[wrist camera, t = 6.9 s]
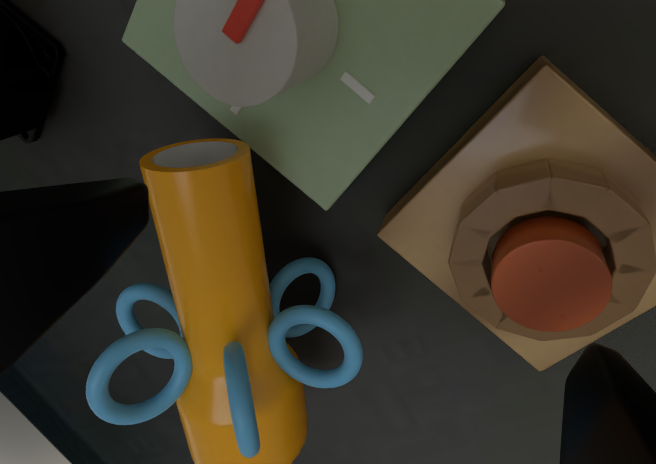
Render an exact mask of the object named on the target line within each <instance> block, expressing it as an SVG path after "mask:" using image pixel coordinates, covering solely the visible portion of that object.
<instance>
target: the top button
mask: <svg viewBox="0 0 656 464" xmlns="http://www.w3.org/2000/svg"><path fill="white" fill-rule="evenodd" d="M491 291H492V295H493V298H494V300H495V302H496V304H497V306H498V307H499V308H500V310H501V311H502V312H503V313H504V314H505V315H506V316H507V317H508V318H510V319H511V320H512V321H514V322H516V323H518V324H520V325H522V326H524V327H527V328H530V329H533V330H538V331H545V332H560V331H567V330H571V329H575V328H578V327H580V326H583V325H585V324H587V323H589V322H590V321H592V320H593V319H595V318H596V317H597V316H598V315H599V314H600V313H601V312H602V311H603V310H604V308H605V307H606V305H607V303H608V302H609V299H610V297H611V293H612V278H611V274H610V271H609V268H608V266H607V263H606V260H605V257H604V254H603V251H602V248H601V246H600V244H599V242H598V240H597V239H596V237H595V236H594V235H593V234H592V233H591V232H590V231H589V230H588V229H586V228H585V227H584V226H582V225H580V224H578V223H576V222H574V221H572V220H569V219H565V218H560V217H552V216H545V217H536V218H531V219H528V220H525V221H522V222H520V223H518V224H516V225H514V226H513V227H511V228H510V229H508V230H507V231H506V232H505V233H504V234H503V235H502V236H501V237H500V239H499V240H498V242H497V243H496V245H495V248H494V251H493V255H492V270H491Z"/></svg>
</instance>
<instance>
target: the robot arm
mask: <svg viewBox="0 0 656 464" xmlns="http://www.w3.org/2000/svg"><path fill="white" fill-rule="evenodd" d="M51 49H52V50H53V53H52V50H51ZM63 58H64V51H63V48H62V46H61V45H60V44H59V43H58V42H57V41H56V40H55V39H54V38H52V37H51V36H50V35H49V34H48V33H46V32H45V31H44V30H43V29H42V28H40V27H39V26H38V25H37V24H36V23H34V22H33V21H32V20H31V19H29V18H28V17H27V16H26V15H25V14H23V13H22V12H21V11H20V10H19V9H17V8H16V7H15V6H14V5H12V4H11V3H10V2H9V1H8V0H0V140H3V139H6V138H9V137H12V136H15V135H16V136H17V137H19V138H20V139H21V140H22V141H24V142H25V143H32V142H34V141H37V140H38V138H39V135H40V132H41V128H42V126H43V124H44V121H45V118H46V115H47V112H48V108H49V105H50V102H51V99H52V96H53V93H54V87H55V84H56V80H57V77H58V74H59V71H60V68H61V64H62V61H63ZM148 220H149V191H148V187H147V185H146V184H145V183H142V182H140V181H137V180H134V179H131V178H120V179H111V180H102V181H93V182H84V183H75V184H66V185H57V186H48V187H39V188H30V189H21V190H12V191H3V192H0V376H1V375H2V374H3V373H4V372H5V371H6V370H7V369H8V368H9V367H10V366H11V365H12V364H13V363H15V362H16V361H17V360H18V359H19V358H20V357H21V356H22V355H23V354H24V353H25V352H26V351H27V350H28V349H29V348H30V347H31V346H32V345H33V344H34V343H36V342H37V341H38V340H39V339H40V338H41V337H42V336H43V335H44V334H45V333H46V332H47V331H48V330H49V329H50V328H51V327H52V326H53V325H54V324H55V323H57V322H58V321H59V320H60V319H61V318H62V317H63V316H64V315H65V314H66V313H67V312H68V311H69V310H70V309H71V308H72V307H73V306H74V305H75V304H76V303H77V302H79V301H80V300H81V299H82V298H83V297H84V296H85V295H86V294H87V293H88V292H89V291H90V290H91V289H92V288H93V287H94V286H95V285H96V284H97V283H98V282H99V281H100V280H101V279H102V278H103V277H104V276H105V275H106V274H107V273H108V272H109V270H110V269H111V268H112V267H113V266H114V265H115V263H116V262H117V261H118V260H119V259H120V257H121V256H122V255H123V254H124V253H125V252H126V250H127V249H128V248H129V247H130V246H131V244H132V243H133V242H134V241H135V240H136V239H137V237H138V236H139V235H140V234H141V233H142V232H143V230H144V229H145V228H146V226H147V223H148ZM560 464H656V393H655V391H654V390H653V389H652V388H651V387H650V386H649V385H648V384H647V383H646V382H645V381H644V379H643V378H642V377H641V376H640V375H639V374H638V373H637V372H636V371H635V370H634V369H633V367H632V366H631V365H630V364H629V363H628V362H627V361H626V360H625V359H624V358H623V357H622V355H621V354H620V353H619V352H618V351H616V350H614V349H611V348H608V347H605V346H603V345H600V344H597V343H592V344H590V345H589V346H587V348H586V349H585V350H584V352H583V353H582V355H581V356H580V358H579V359H578V361H577V362H576V364H575V365H574V367H573V368H572V370H571V371H570V373H569V375H568V377H567V380H566V384H565V393H564V407H563V421H562V435H561V449H560Z"/></svg>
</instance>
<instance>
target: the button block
mask: <svg viewBox="0 0 656 464" xmlns="http://www.w3.org/2000/svg"><path fill="white" fill-rule="evenodd" d="M545 216H552V217H560V218H565V219H569V220H572V221H574V222H576V223H578V224H580V225H582V226H584V227H585V228H586V229H588V230H589V231H590V232H591V233H592V234H593V235H594V236H595V237H596V239H597V240H598V242H599V244H600V246H601V248H602V251H603V254H604V257H605V260H606V263H607V266H608V268H609V271H610V274H611V278H612V293H611V297H610V299H609V302H608V303H607V305H606V307H605V308H604V310H603V311H602V312H601V313H600V314H599V315H598V316H597V317H596V318H595V319H593V320H592V321H590V322H589V323H587V324H585V325H583V326H580V327H578V328H575V329H571V330H567V331H560V332H545V331H538V330H533V329H530V328H527V327H524V326H522V325H520V324H518V323H516V322H514V321H512V320H511V319H510V318H508V317H507V316H506V315H505V314H504V313H503V312H502V311H501V310H500V308H499V307H498V306H497V304H496V302H495V300H494V298H493V295H492V291H491V270H492V255H493V251H494V248H495V245H496V243H497V242H498V240H499V239H500V237H501V236H502V235H503V234H504V233H505V232H506V231H507V230H508V229H510V228H511V227H513V226H514V225H516V224H518V223H520V222H522V221H525V220H528V219H531V218H536V217H545ZM377 236H378V237H379V238H380V239H382V240H383V241H384V242H385V243H386V244H388V245H389V246H390V247H391V248H392V249H394V250H395V251H396V252H397V253H398V254H400V255H401V256H402V257H403V258H404V259H406V260H407V261H408V262H409V263H410V264H411V265H413V266H414V267H415V268H416V269H417V270H419V271H420V272H421V273H422V274H423V275H425V276H426V277H427V278H428V279H429V280H431V281H432V282H433V283H434V284H435V285H437V286H438V287H439V288H440V289H441V290H443V291H444V292H445V293H446V294H447V295H449V296H450V297H451V298H452V299H453V300H455V301H456V302H457V303H458V304H459V305H461V306H462V307H463V308H464V309H465V310H467V311H468V312H469V313H470V314H471V315H472V316H474V317H475V318H476V319H477V320H478V321H480V322H481V323H482V324H483V325H484V326H486V327H487V328H488V329H489V330H490V331H492V332H493V333H494V334H495V335H496V336H498V337H499V338H500V339H501V340H502V341H504V342H505V343H506V344H507V345H508V346H510V347H511V348H512V349H513V350H514V351H516V352H517V353H518V354H519V355H520V356H522V357H523V358H524V359H525V360H526V361H528V362H529V363H530V364H531V365H532V366H533V367H535V368H536V369H537V370H538V371H543V370H545V369H546V368H548V367H550V366H551V365H553V364H555V363H557V362H558V361H560V360H562V359H564V358H565V357H567V356H569V355H571V354H572V353H574V352H576V351H578V350H579V349H581V348H583V347H585V346H586V345H588V344H590V343H592V342H593V341H595V340H597V339H599V338H600V337H602V336H604V335H606V334H607V333H609V332H611V331H612V330H614V329H616V328H618V327H619V326H621V325H623V324H625V323H626V322H628V321H630V320H632V319H633V318H635V317H637V316H639V315H640V314H642V313H644V312H646V311H647V310H649V309H651V308H653V307H654V306H656V156H655V155H654V154H653V153H652V152H651V151H650V150H649V149H648V148H646V147H645V146H644V145H643V144H642V143H641V142H640V141H639V140H637V139H636V138H635V137H634V136H633V135H632V134H631V133H630V132H628V131H627V130H626V129H625V128H624V127H623V126H622V125H621V124H620V123H618V122H617V121H616V120H615V119H614V118H613V117H612V116H611V115H609V114H608V113H607V112H606V111H605V110H604V109H603V108H602V107H600V106H599V105H598V104H597V103H596V102H595V101H594V100H593V99H591V98H590V97H589V96H588V95H587V94H586V93H585V92H584V91H583V90H581V89H580V88H579V87H578V86H577V85H576V84H575V83H574V82H572V81H571V80H570V79H569V78H568V77H567V76H566V75H565V74H563V73H562V72H561V71H560V70H559V69H558V68H557V67H556V66H554V65H553V64H552V63H551V62H550V61H549V60H548V59H547V58H546V57H544V56H540V57H539V58H538V59H537V60H536V61H535V62H534V63H533V64H532V65H531V66H530V67H529V68H528V69H527V70H526V71H525V72H524V73H523V74H522V75H521V76H520V77H519V78H518V80H517V81H516V82H515V83H514V84H513V85H512V86H511V87H510V88H509V89H508V90H507V91H506V92H505V93H504V94H503V95H502V96H501V97H500V98H499V99H498V100H497V101H496V102H495V103H494V104H493V105H492V106H491V107H490V108H489V109H488V110H487V111H486V112H485V113H484V114H483V115H482V116H481V117H480V118H479V119H478V121H477V122H476V123H475V124H474V125H473V126H472V127H471V128H470V129H469V130H468V131H467V132H466V133H465V134H464V135H463V136H462V137H461V138H460V139H459V140H458V141H457V142H456V143H455V144H454V145H453V146H452V147H451V148H450V149H449V150H448V151H447V152H446V153H445V154H444V155H443V156H442V157H441V158H440V159H439V160H438V161H437V163H436V164H435V165H434V166H433V167H432V168H431V169H430V170H429V171H428V172H427V173H426V174H425V175H424V176H423V177H422V178H421V179H420V180H419V181H418V182H417V183H416V184H415V185H414V186H413V187H412V188H411V189H410V190H409V191H408V192H407V193H406V194H405V195H404V196H403V197H402V198H401V199H400V200H399V201H398V202H397V204H396V205H395V206H394V207H393V208H392V209H391V210H390V211H389V212H388V213H387V214H386V216H385V218H384V220H383V222H382V224H381V227H380V229H379V231H378V233H377Z"/></svg>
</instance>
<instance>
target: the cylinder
mask: <svg viewBox="0 0 656 464" xmlns="http://www.w3.org/2000/svg"><path fill="white" fill-rule="evenodd" d="M139 164H140V168H141V172H142V176H143V180H144V183H145V184H146V185H147V187H148V191H149V204H150V208H151V212H152V215H153V219H154V223H155V227H156V231H157V235H158V239H159V243H160V247H161V251H162V255H163V259H164V263H165V267H166V271H167V275H168V279H169V283H170V287H171V291H172V292H171V291H169V290H168V289H166V288H164V287H161V286H159V285H156V284H151V283H137V284H133V285H131V286H129V287H127V288H126V289H124V290H123V291H122V292H121V294H120V295H119V297H118V300H117V304H116V314H117V318H118V321H119V324H120V326H121V328H122V329H123V331H124V333H125V334H126V335H125V336H123V337H122V338H120V339H118V340H117V341H115V342H114V343H113V344H111V345H110V346H109V347H108V348H107V349H106V350H105V351H104V352H103V353H102V354H101V355H100V356H99V357H98V359H97V360H96V362H95V363H94V365H93V367H92V368H91V371H90V373H89V376H88V379H87V384H86V396H87V401H88V404H89V406H90V408H91V409H92V411H93V412H94V413H95V414H96V415H97V416H98V417H99V418H101V419H102V420H104V421H106V422H109V423H112V424H117V425H131V424H137V423H141V422H144V421H147V420H149V419H152V418H154V417H156V416H157V415H159V414H161V413H162V412H164V411H165V410H167V409H168V408H169V407H170V406H171V405H172V404H174V403H175V402H176V404H177V407H178V411H179V415H180V418H181V422H182V425H183V429H184V432H185V436H186V439H187V443H188V446H189V450H190V453H191V456H192V459H193V461H194V463H195V464H291V463H292V462H293V460H294V459H295V458H296V457H297V456H298V454H299V452H300V450H301V449H302V447H303V445H304V442H305V439H306V436H307V430H308V421H307V411H306V402H305V394H304V385H303V384H306V385H309V386H312V387H317V388H334V387H339V386H342V385H344V384H346V383H348V382H349V381H351V380H352V379H353V378H354V377H355V376H356V375H357V373H358V372H359V370H360V368H361V365H362V360H363V350H362V346H361V342H360V340H359V338H358V336H357V334H356V332H355V331H354V330H353V328H352V327H351V326H350V325H349V324H348V323H347V322H346V321H345V320H344V319H343V318H341V317H340V316H338V315H337V314H335V313H333V312H331V311H329V310H330V307H331V305H332V303H333V300H334V296H335V278H334V275H333V272H332V270H331V269H330V267H329V266H328V265H327V264H326V263H325V262H323V261H322V260H320V259H317V258H311V257H306V258H300V259H297V260H295V261H293V262H291V263H289V264H287V265H286V266H285V267H283V268H282V269H281V270H280V271H279V272H278V273H277V274H276V275H275V277H274V278H273V280H272V281H271V283H270V284H269V280H268V273H267V266H266V259H265V253H264V246H263V238H262V231H261V224H260V217H259V210H258V203H257V196H256V189H255V182H254V175H253V168H252V161H251V154H250V147H249V145H248V144H247V143H245V142H243V141H239V140H234V139H224V138H211V139H198V140H191V141H185V142H180V143H175V144H171V145H167V146H164V147H161V148H158V149H155V150H153V151H151V152H149V153H147V154H146V155H144V156H143V157H142V158H141V159H140V161H139ZM306 273H313V274H315V275H316V276H317V277H318V278H319V280H320V284H321V290H320V295H319V298H318V301H317V303H316V304H315V306H312V305H298V306H293V307H290V308H287V309H285V310H283V311H282V312H280V310H279V306H280V300H281V297H282V295H283V293H284V291H285V289H286V288H287V286H288V285H289V284H290V283H291V282H292V281H293V280H294V279H295V278H297V277H298V276H300V275H302V274H306ZM137 300H149V301H152V302H155V303H157V304H159V305H160V306H162V307H163V308H165V309H166V310H167V311H168V312H169V313H170V314H171V315H172V316H173V318H174V319H175V321H176V322H177V324H178V327H179V330H180V335H178V334H177V333H175V332H173V331H170V330H167V329H162V328H148V329H143V328H142V327H141V326H140V324H139V323H138V321H137V319H136V317H135V315H134V310H133V306H134V303H135V302H136V301H137ZM316 326H318V327H321V328H323V329H325V330H326V331H328V332H329V333H331V334H332V335H333V336H334V337H335V338H336V339H337V340H338V341H339V342H340V344H341V346H342V348H343V350H344V361H343V363H342V364H341V365H340V366H339V367H337V368H335V369H331V370H319V369H315V368H312V367H309V366H307V365H305V364H303V363H302V362H300V361H299V358H298V356H297V354H296V353H295V351H294V350H293V349H292V347H291V346H290V345H289V344H288V343H287V342H286V340H285V337H289V338H291V337H298V336H301V335H304V334H306V333H308V332H309V331H311V330H312V329H314V328H315V327H316ZM140 350H144V351H145V352H147V353H149V354H151V355H154V356H156V357H160V358H166V359H174V362H175V367H174V372H173V375H172V377H171V379H170V381H169V382H168V384H167V385H166V386H165V387H164V388H163V389H162V390H161V391H160V392H159V393H158V394H157V395H155V396H154V397H152V398H150V399H149V400H147V401H144V402H142V403H138V404H133V405H124V404H120V403H117V402H115V401H114V400H113V399H112V398H111V397H110V395H109V391H108V384H109V380H110V377H111V375H112V373H113V372H114V370H115V369H116V368H117V366H118V365H119V364H120V363H121V362H122V361H123V360H124V359H126V358H127V357H128V356H130V355H132V354H133V353H135V352H137V351H140Z"/></svg>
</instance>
